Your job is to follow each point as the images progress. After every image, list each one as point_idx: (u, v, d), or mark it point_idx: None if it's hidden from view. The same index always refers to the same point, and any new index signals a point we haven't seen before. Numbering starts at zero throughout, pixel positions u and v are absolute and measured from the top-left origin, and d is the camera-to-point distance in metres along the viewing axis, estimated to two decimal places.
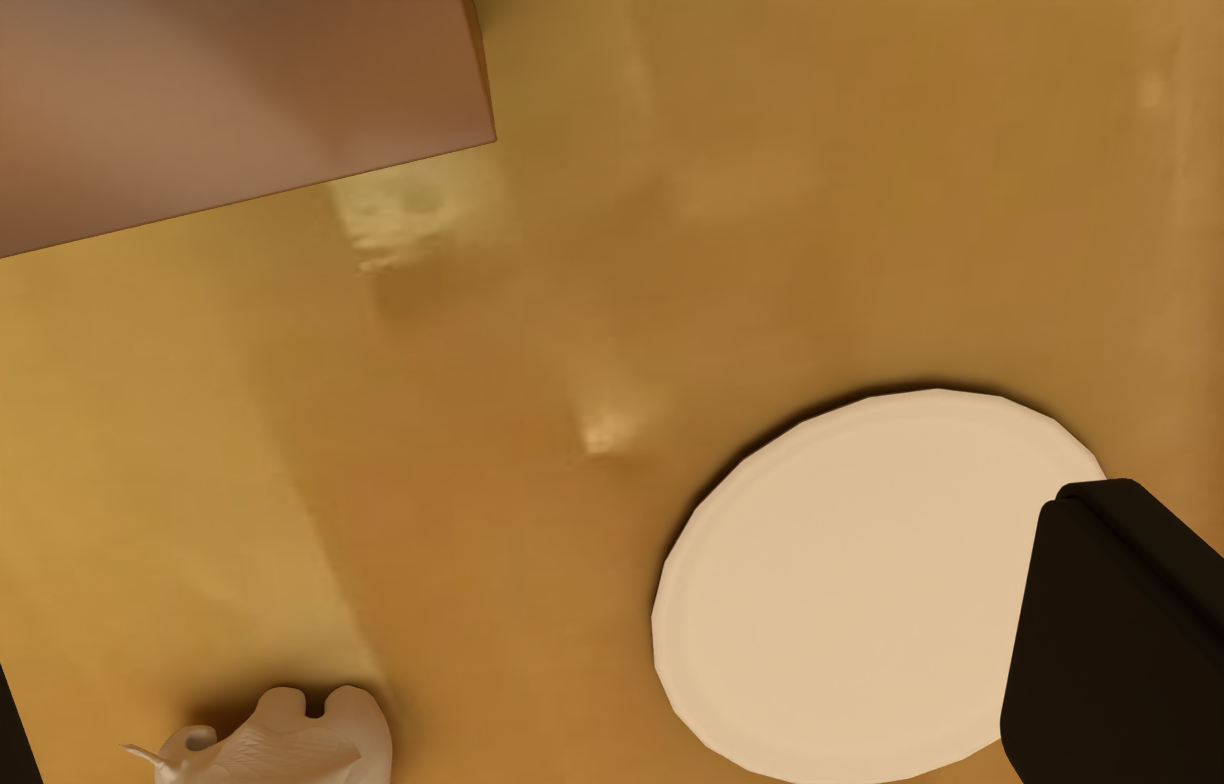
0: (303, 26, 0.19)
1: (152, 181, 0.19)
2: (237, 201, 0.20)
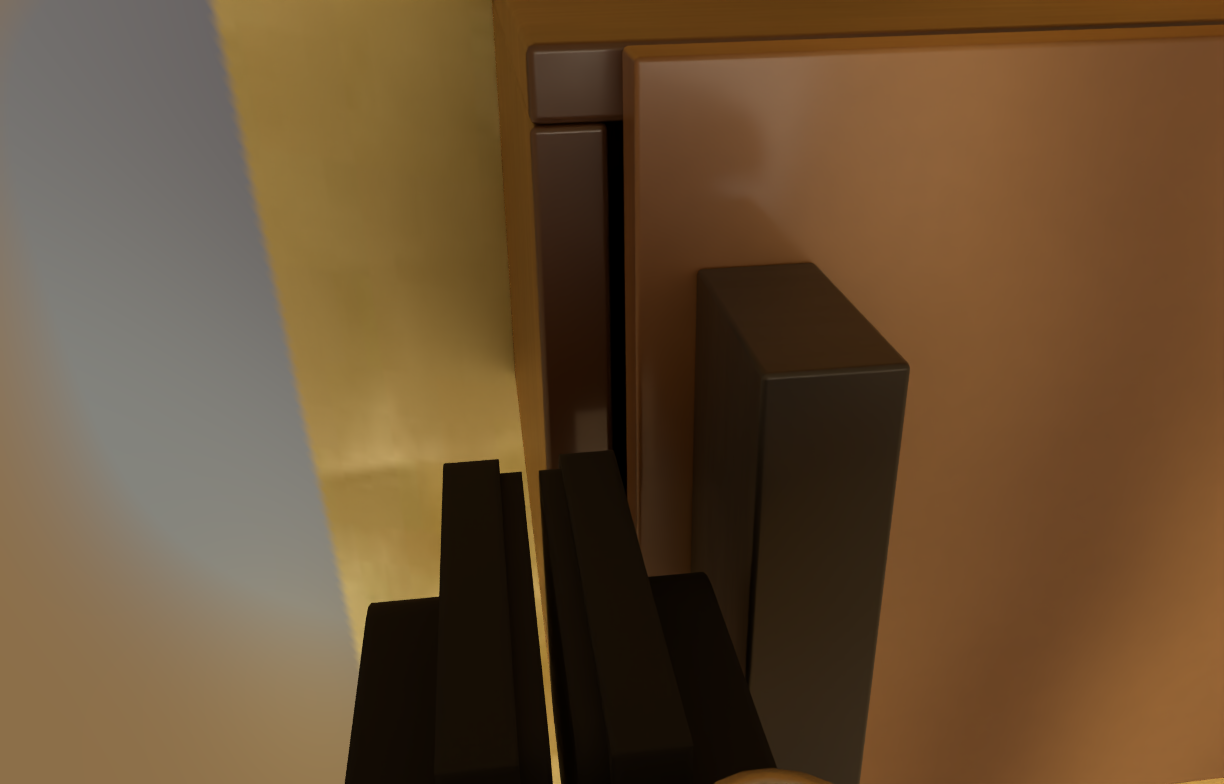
0: None
1: None
2: None
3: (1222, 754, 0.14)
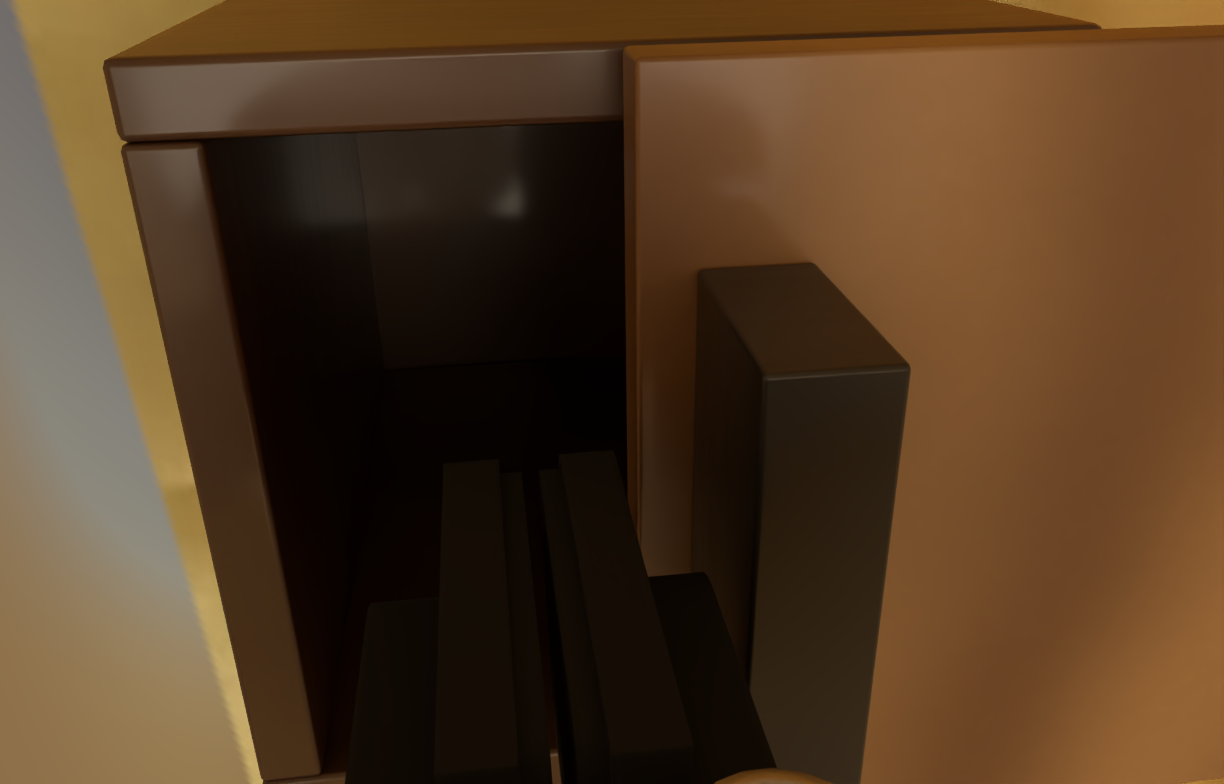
0: None
1: None
2: None
3: (1222, 755, 0.14)
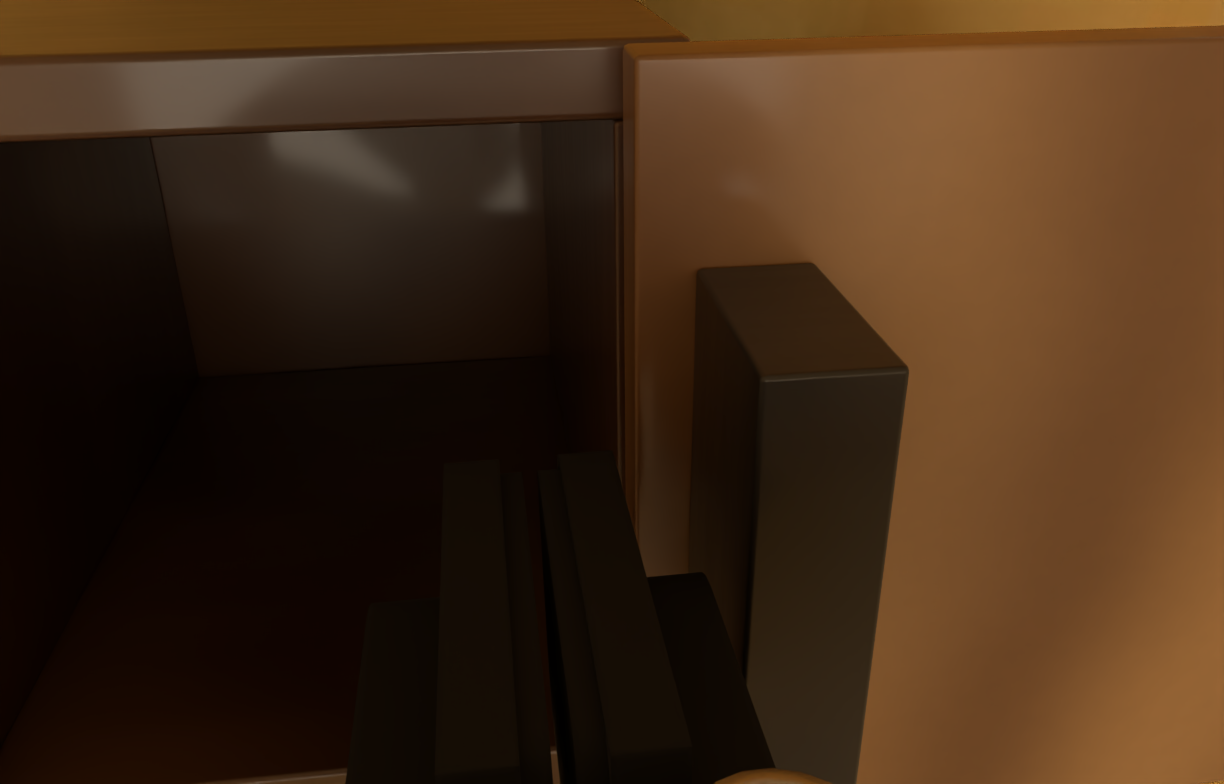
0: None
1: None
2: None
3: (1221, 757, 0.14)
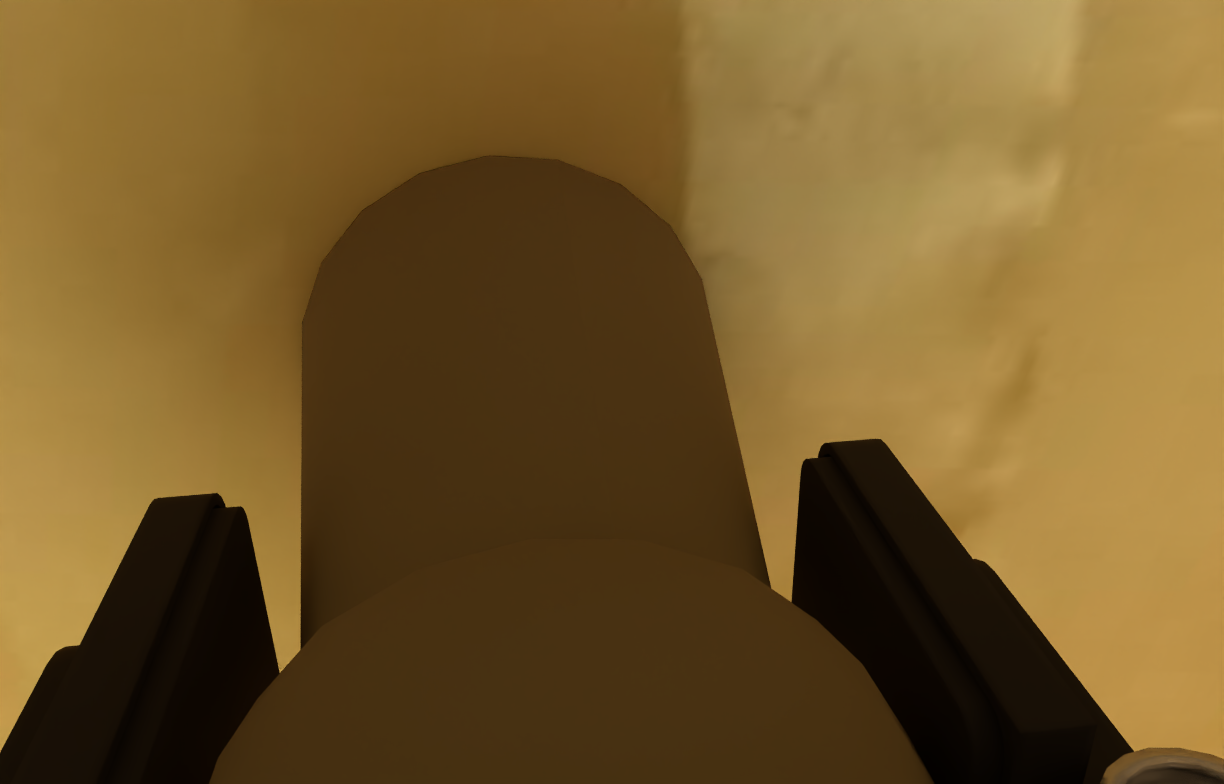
0: None
1: None
2: None
3: None
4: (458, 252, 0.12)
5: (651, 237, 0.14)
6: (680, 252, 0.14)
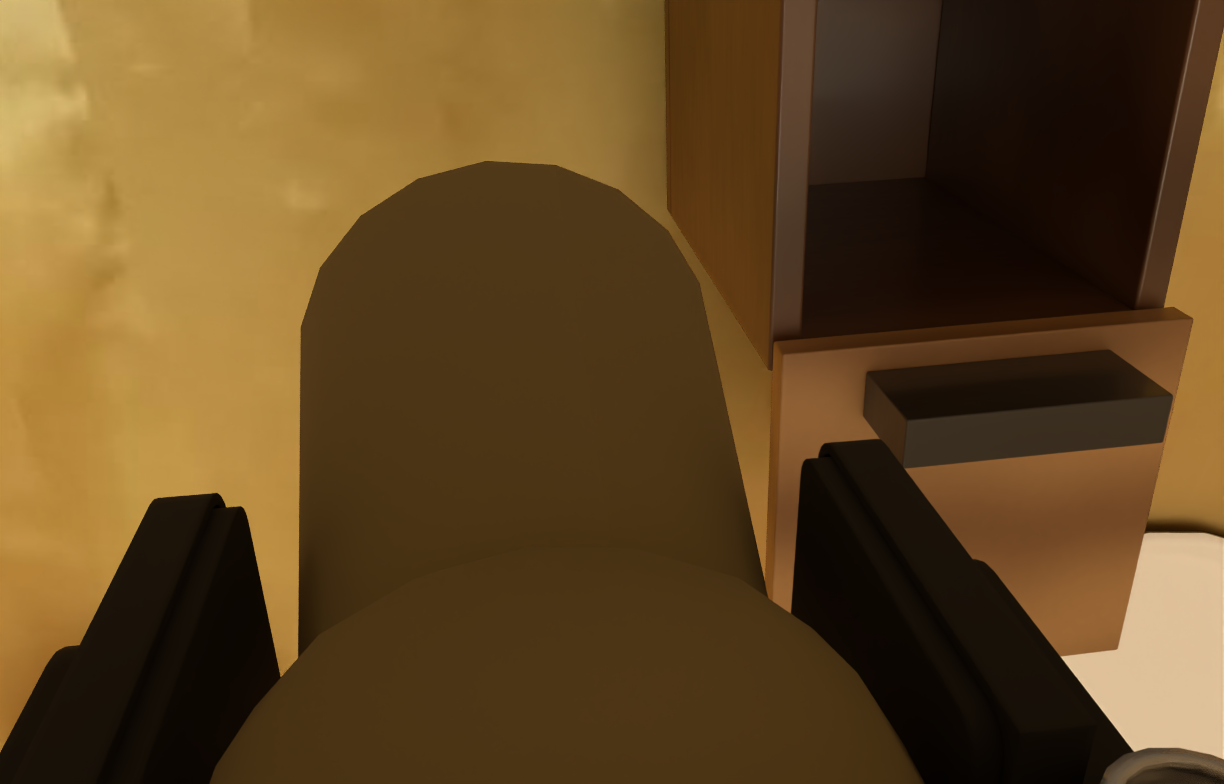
0: (1035, 579, 0.27)
1: None
2: None
3: None
4: (456, 257, 0.12)
5: (649, 242, 0.14)
6: (678, 257, 0.14)
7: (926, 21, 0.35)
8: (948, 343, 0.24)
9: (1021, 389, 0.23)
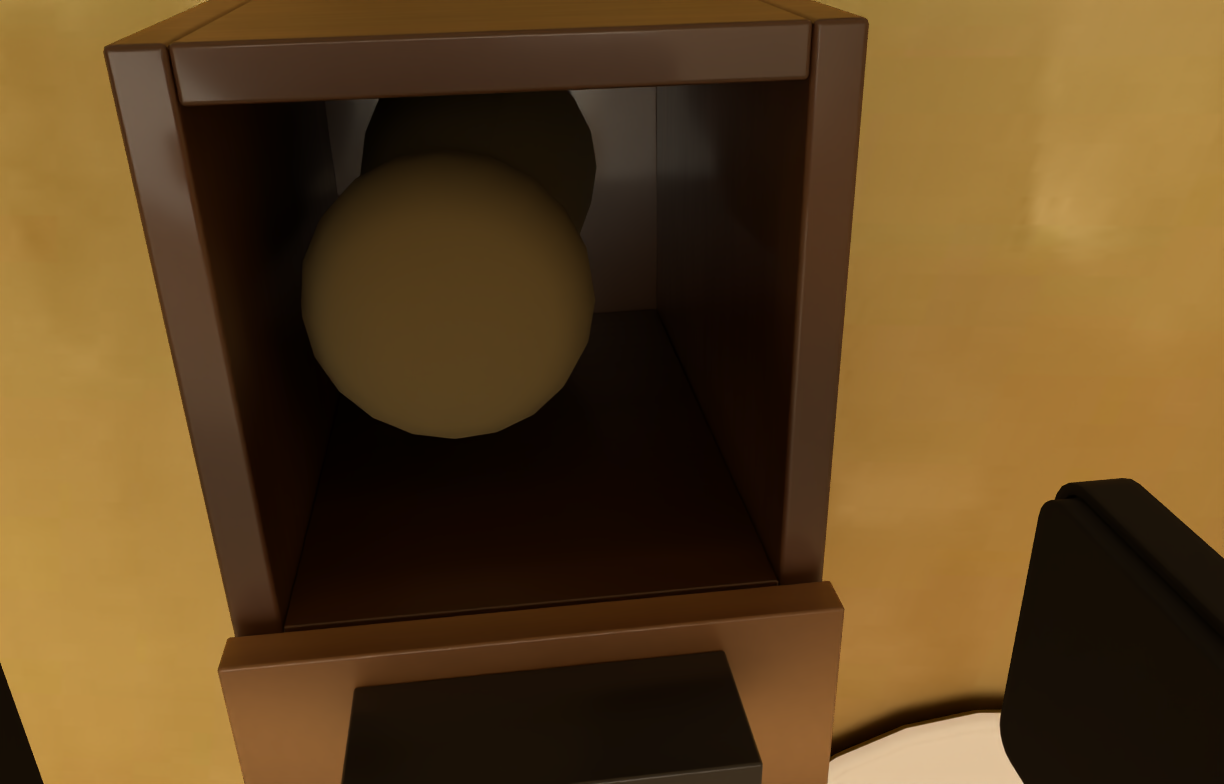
0: None
1: None
2: None
3: None
4: None
5: (556, 96, 0.25)
6: (575, 110, 0.26)
7: (638, 121, 0.27)
8: (473, 648, 0.16)
9: (548, 740, 0.15)
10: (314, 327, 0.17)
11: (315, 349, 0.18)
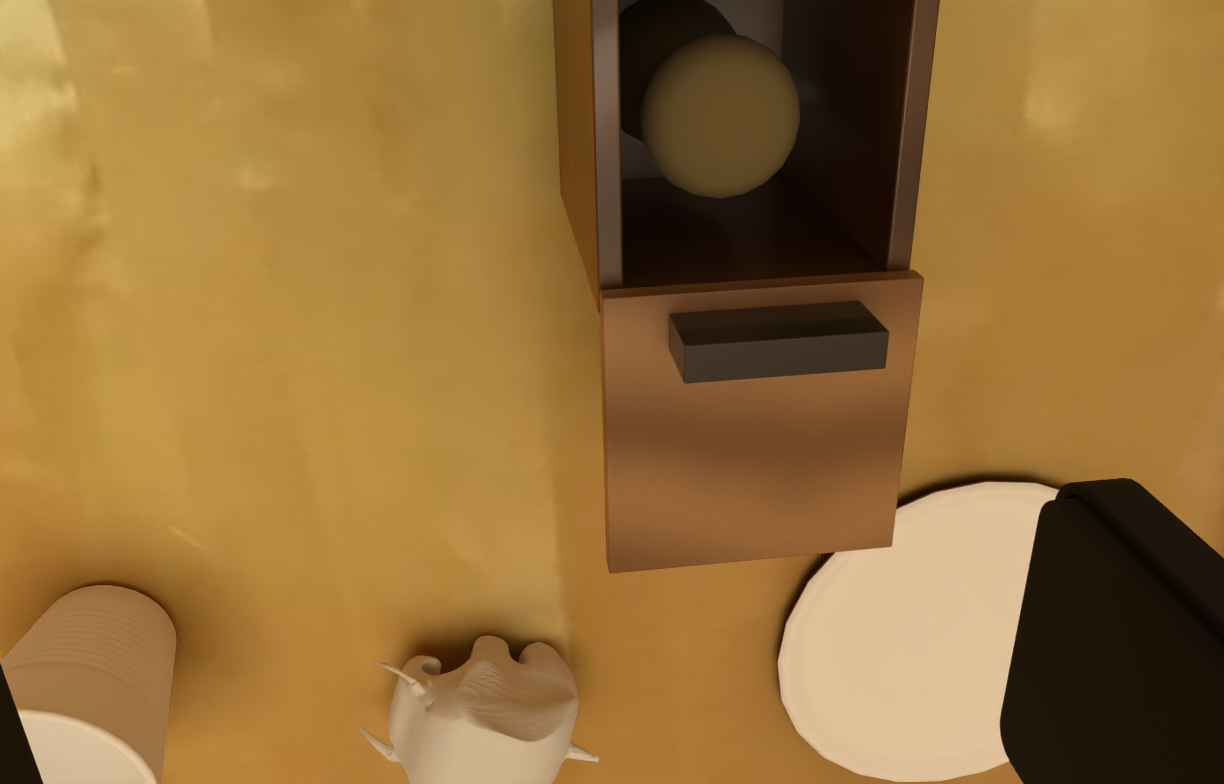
0: (818, 486, 0.35)
1: (712, 546, 0.35)
2: (750, 559, 0.36)
3: (622, 526, 0.35)
4: (671, 10, 0.39)
5: (726, 21, 0.40)
6: None
7: (770, 42, 0.42)
8: (731, 292, 0.31)
9: (778, 326, 0.30)
10: (660, 127, 0.32)
11: (655, 142, 0.33)
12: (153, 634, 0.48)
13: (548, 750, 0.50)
